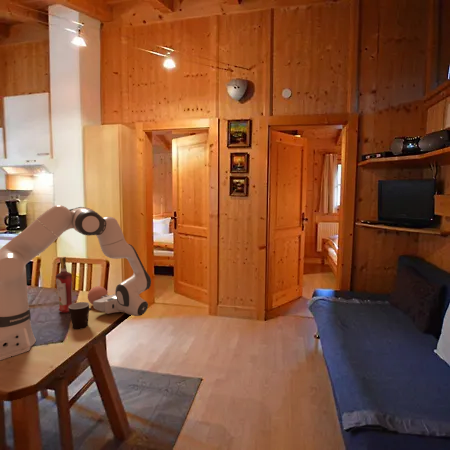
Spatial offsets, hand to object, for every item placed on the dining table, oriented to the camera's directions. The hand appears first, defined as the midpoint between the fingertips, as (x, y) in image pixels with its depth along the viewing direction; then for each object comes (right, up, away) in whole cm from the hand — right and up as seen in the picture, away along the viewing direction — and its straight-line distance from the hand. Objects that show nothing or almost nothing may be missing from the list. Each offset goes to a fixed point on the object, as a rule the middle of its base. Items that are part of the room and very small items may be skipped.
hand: (103, 297), depth 174 cm
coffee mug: (-2, -8, -22) cm, 23 cm away
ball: (-4, 0, +3) cm, 5 cm away
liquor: (-17, -6, -5) cm, 19 cm away
